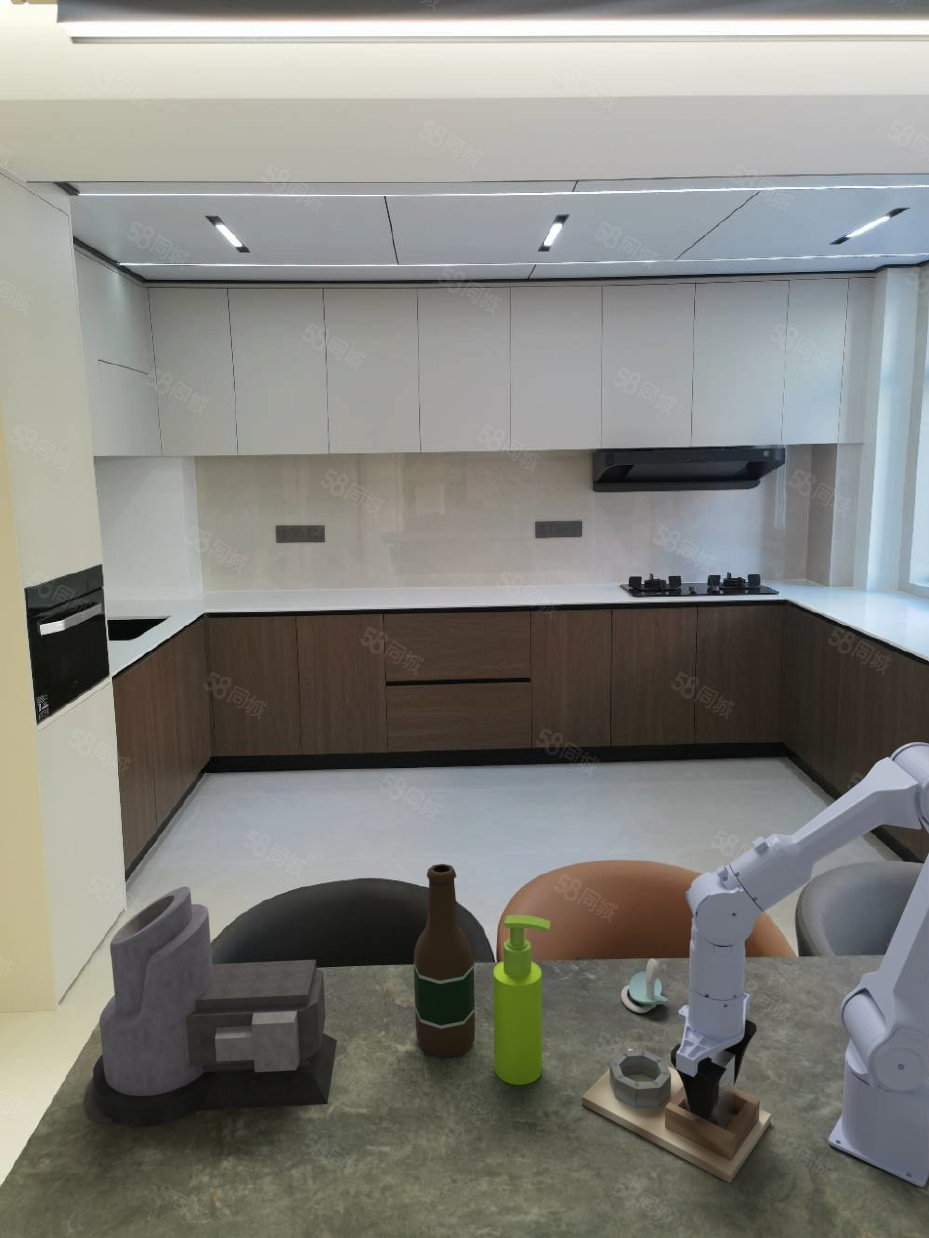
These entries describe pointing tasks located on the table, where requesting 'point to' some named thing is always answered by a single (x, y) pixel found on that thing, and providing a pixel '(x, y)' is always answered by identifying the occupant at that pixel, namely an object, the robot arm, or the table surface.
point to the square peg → (722, 1091)
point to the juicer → (204, 1026)
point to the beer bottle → (443, 973)
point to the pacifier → (644, 989)
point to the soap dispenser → (518, 1005)
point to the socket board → (675, 1113)
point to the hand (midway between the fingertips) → (712, 1097)
